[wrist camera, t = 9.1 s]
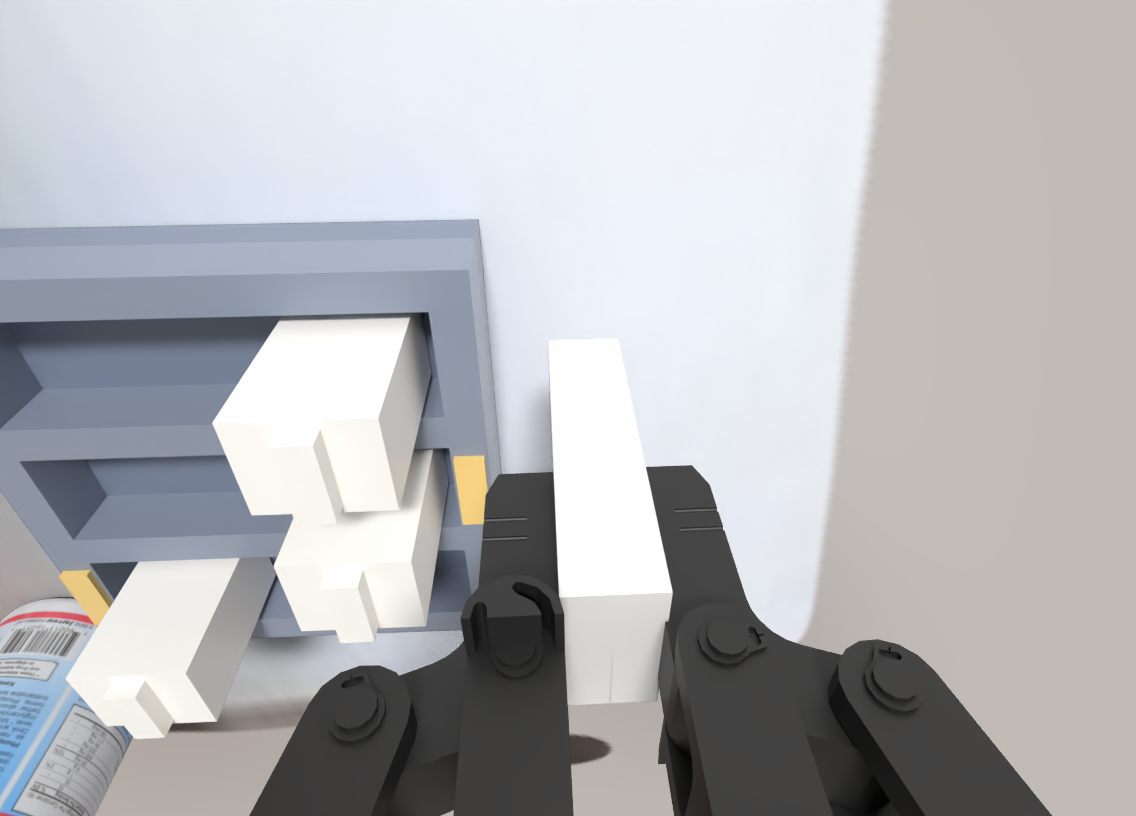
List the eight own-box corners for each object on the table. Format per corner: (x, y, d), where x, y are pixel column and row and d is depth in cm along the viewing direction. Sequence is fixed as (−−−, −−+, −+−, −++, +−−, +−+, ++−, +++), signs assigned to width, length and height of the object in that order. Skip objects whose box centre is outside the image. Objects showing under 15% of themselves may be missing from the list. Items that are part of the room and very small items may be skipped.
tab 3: (350, 485, 20) (295, 650, 15) (332, 423, 18) (266, 585, 14) (448, 481, 20) (423, 644, 15) (438, 420, 18) (407, 579, 14)
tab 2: (318, 376, 17) (242, 534, 13) (295, 295, 16) (200, 440, 11) (431, 373, 17) (395, 528, 13) (418, 292, 16) (372, 435, 11)
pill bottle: (-8, 650, 26) (-295, 1029, 17) (28, 570, 23) (-291, 972, 14) (148, 694, 28) (-31, 1047, 19) (196, 626, 26) (15, 1001, 17)
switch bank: (155, 571, 24) (109, 649, 21) (-50, 230, 16) (-163, 287, 13) (509, 558, 24) (506, 633, 21) (478, 219, 16) (467, 273, 14)
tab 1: (186, 577, 22) (96, 744, 17) (159, 528, 20) (53, 697, 16) (276, 573, 22) (209, 739, 17) (255, 525, 20) (177, 692, 16)
